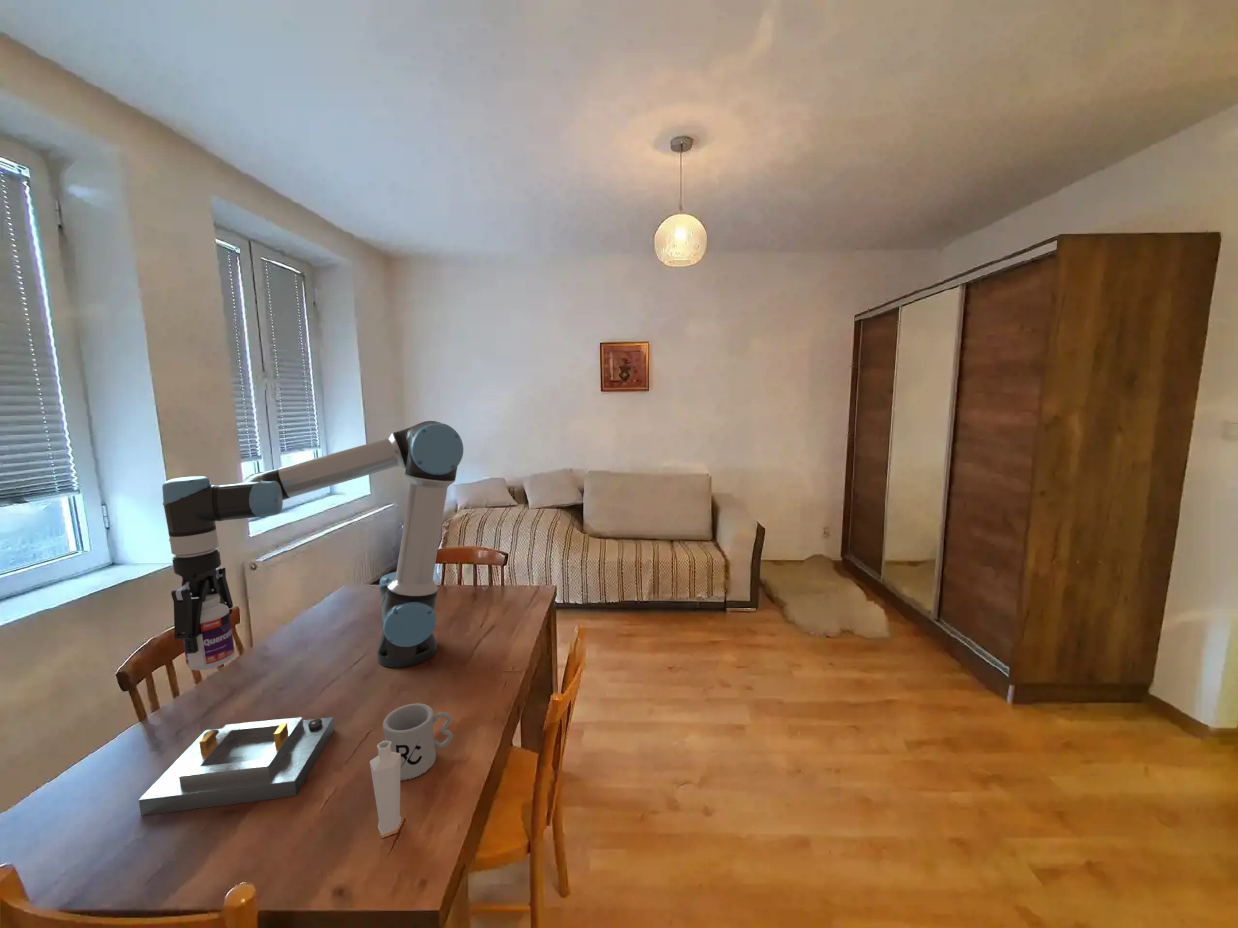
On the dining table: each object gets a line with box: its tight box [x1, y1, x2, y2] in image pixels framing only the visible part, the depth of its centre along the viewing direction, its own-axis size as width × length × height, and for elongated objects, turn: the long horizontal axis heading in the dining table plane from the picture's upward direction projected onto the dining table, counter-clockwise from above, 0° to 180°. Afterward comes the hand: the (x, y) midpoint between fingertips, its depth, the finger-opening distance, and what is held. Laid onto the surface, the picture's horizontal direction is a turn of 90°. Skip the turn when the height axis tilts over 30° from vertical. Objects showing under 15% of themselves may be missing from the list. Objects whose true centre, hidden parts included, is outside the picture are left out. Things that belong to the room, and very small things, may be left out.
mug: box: [382, 703, 454, 781], centre depth 97 cm, size 12×9×10 cm
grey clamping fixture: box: [138, 716, 335, 816], centre depth 96 cm, size 24×18×8 cm
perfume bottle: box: [369, 740, 403, 835], centre depth 82 cm, size 5×4×15 cm
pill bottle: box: [182, 594, 236, 671], centre depth 107 cm, size 8×8×14 cm
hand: (211, 654), depth 108 cm, fingers closed on pill bottle, 8 cm apart
